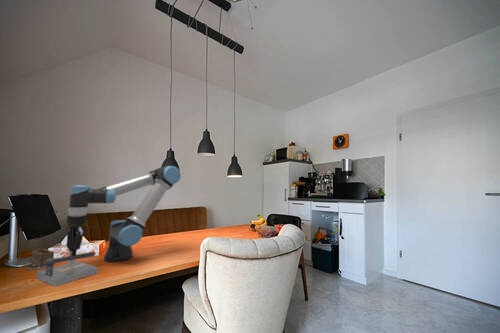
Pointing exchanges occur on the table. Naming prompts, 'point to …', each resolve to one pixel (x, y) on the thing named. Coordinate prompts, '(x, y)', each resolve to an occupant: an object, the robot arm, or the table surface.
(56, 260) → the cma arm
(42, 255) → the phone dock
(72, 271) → the plate
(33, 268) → the smartphone
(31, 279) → the table surface
